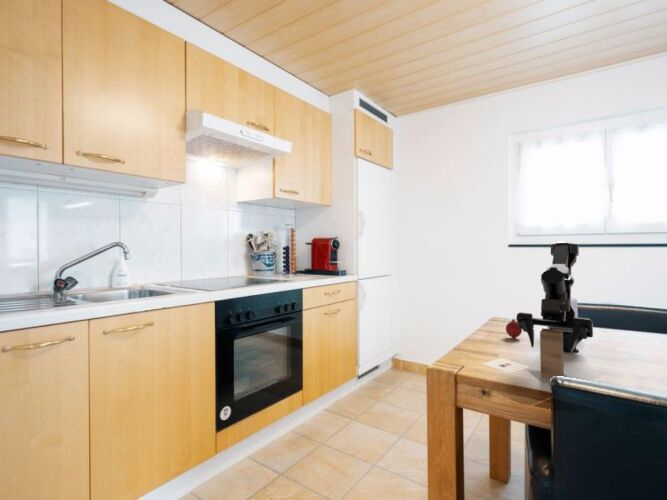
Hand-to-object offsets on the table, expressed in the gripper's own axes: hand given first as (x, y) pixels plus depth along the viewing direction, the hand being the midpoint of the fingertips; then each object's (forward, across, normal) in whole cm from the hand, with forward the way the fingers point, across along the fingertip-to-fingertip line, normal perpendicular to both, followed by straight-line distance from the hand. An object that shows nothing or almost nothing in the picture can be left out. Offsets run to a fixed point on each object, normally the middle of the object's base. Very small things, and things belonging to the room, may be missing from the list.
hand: (550, 349), depth 97 cm
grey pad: (+5, 0, +7) cm, 9 cm away
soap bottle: (-33, -2, +45) cm, 56 cm away
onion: (-22, -18, +34) cm, 44 cm away
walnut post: (+5, 0, +7) cm, 8 cm away
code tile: (+3, -13, +9) cm, 16 cm away
